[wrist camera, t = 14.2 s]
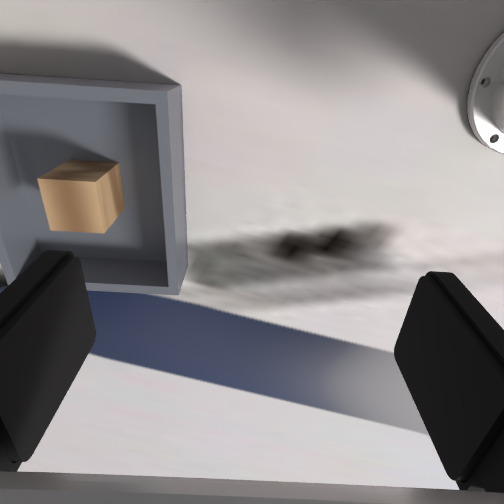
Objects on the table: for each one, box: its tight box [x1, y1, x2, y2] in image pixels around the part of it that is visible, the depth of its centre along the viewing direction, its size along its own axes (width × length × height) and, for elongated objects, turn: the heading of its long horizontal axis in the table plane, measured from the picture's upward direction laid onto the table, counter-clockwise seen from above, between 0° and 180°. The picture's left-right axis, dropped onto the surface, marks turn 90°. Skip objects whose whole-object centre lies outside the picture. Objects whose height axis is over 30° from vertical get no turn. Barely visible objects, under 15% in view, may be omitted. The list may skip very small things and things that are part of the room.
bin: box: [0, 73, 188, 295], centre depth 35 cm, size 18×20×6 cm
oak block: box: [37, 160, 125, 233], centre depth 34 cm, size 5×5×6 cm
